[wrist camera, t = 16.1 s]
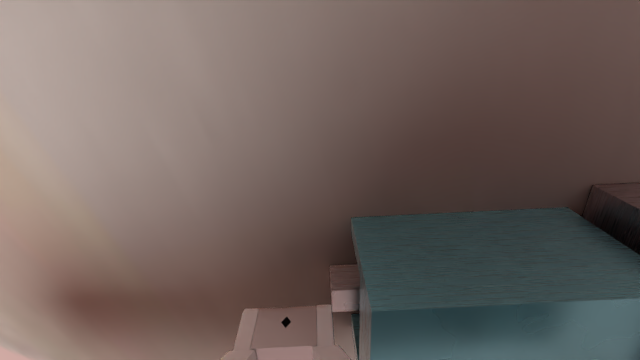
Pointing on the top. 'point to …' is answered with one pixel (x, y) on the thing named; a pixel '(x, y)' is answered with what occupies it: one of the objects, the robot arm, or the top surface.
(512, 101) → the top surface
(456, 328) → the teal storage bin
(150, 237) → the top surface
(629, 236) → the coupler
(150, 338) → the top surface
